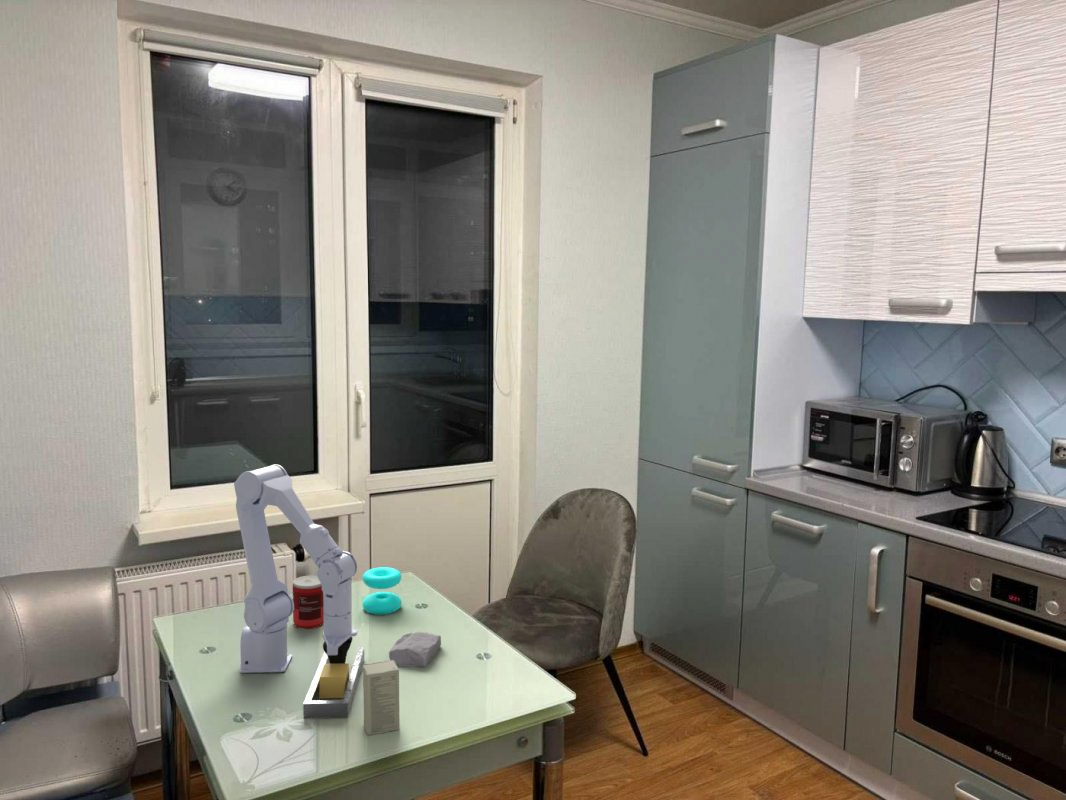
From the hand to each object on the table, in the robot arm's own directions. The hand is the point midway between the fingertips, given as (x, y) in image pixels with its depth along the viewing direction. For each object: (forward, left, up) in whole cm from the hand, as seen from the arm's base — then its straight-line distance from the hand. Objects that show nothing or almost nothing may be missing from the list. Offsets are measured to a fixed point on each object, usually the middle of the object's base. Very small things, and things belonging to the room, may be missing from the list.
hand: (338, 673), depth 169 cm
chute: (0, -2, -2) cm, 3 cm away
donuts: (+5, +40, -2) cm, 41 cm away
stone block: (+15, +13, -2) cm, 20 cm away
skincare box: (+11, -19, -2) cm, 22 cm away
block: (0, -4, -2) cm, 5 cm away
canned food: (-12, +31, -2) cm, 34 cm away
